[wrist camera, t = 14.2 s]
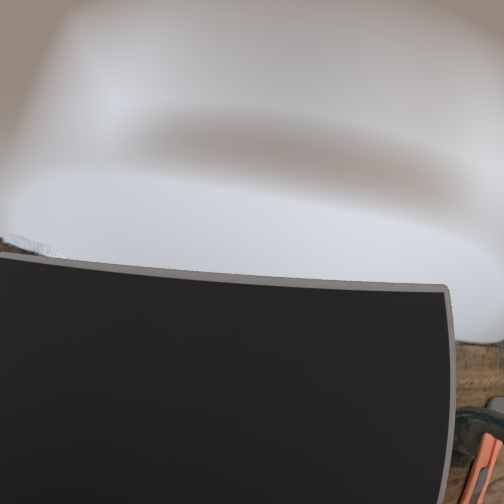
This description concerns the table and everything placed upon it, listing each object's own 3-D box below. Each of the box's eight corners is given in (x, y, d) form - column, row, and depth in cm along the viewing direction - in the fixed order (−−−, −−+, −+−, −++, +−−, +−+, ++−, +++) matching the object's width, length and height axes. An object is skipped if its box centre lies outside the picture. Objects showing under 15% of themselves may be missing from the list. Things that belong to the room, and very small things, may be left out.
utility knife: (519, 395, 15) (464, 557, 7) (513, 396, 16) (460, 554, 8) (493, 396, 16) (432, 567, 8) (487, 397, 17) (428, 563, 9)
